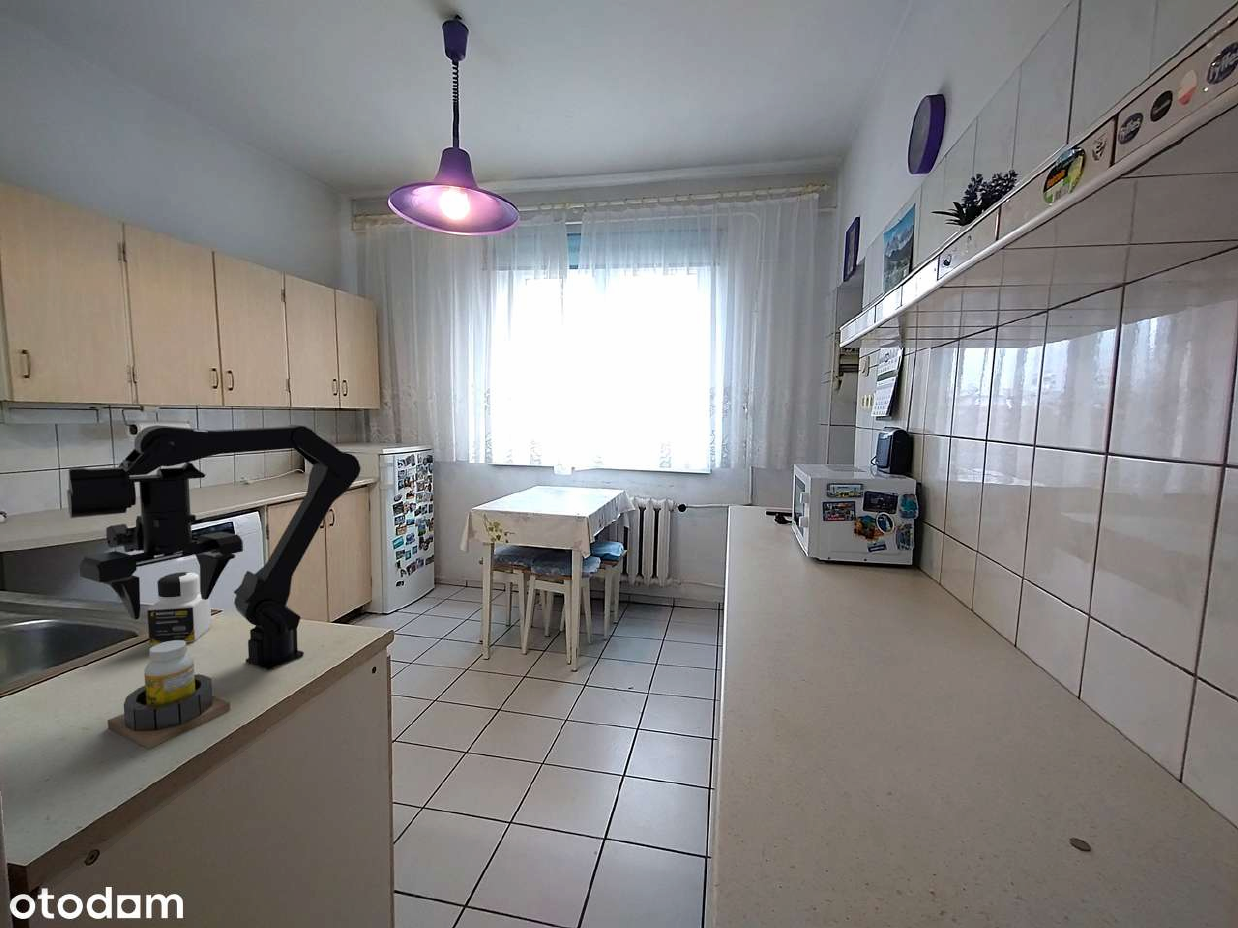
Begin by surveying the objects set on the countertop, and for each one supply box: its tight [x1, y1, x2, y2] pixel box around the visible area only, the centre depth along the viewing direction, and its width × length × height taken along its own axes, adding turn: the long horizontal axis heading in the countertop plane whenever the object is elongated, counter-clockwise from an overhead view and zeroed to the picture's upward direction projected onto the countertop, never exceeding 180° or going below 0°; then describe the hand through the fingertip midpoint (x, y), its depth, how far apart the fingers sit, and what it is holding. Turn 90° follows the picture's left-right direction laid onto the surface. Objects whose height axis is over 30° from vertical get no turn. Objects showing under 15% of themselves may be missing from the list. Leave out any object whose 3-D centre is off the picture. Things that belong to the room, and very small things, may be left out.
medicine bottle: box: [146, 571, 212, 646], centre depth 102 cm, size 7×7×12 cm
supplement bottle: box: [144, 640, 195, 705], centre depth 76 cm, size 5×5×10 cm
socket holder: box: [107, 673, 231, 750], centre depth 76 cm, size 10×10×4 cm
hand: (171, 608), depth 83 cm, fingers open, 9 cm apart
